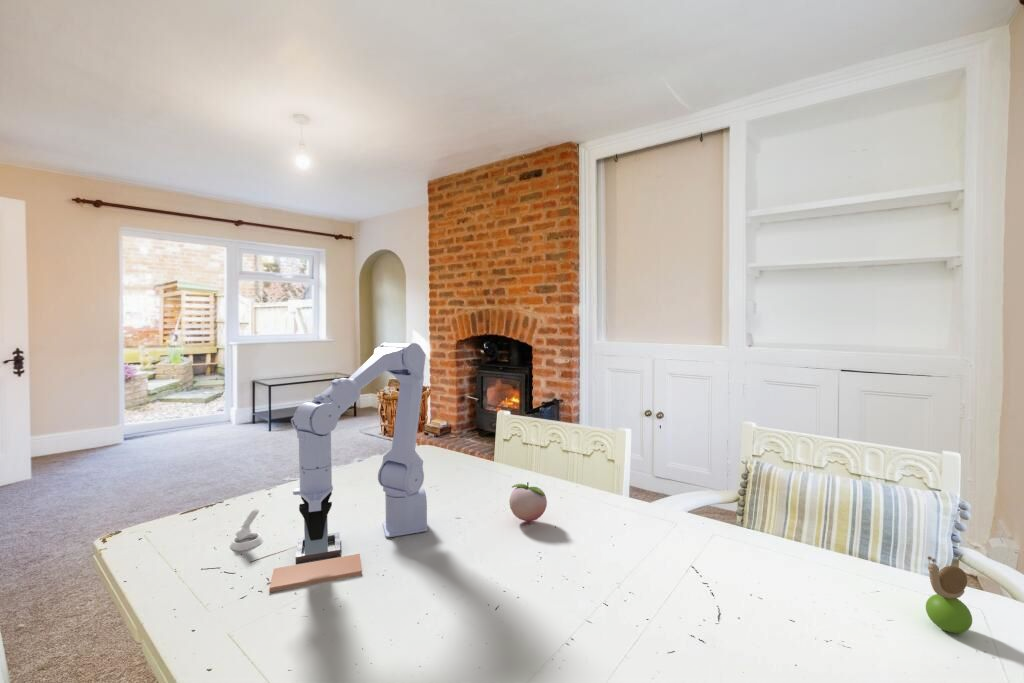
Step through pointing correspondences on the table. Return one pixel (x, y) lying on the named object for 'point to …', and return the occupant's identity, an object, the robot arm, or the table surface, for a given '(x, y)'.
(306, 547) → the metal peg
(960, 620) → the snail figurine
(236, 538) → the white handled ring
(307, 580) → the terracotta tile
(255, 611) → the table surface
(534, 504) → the decorative fruit
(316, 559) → the iron collar
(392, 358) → the robot arm
